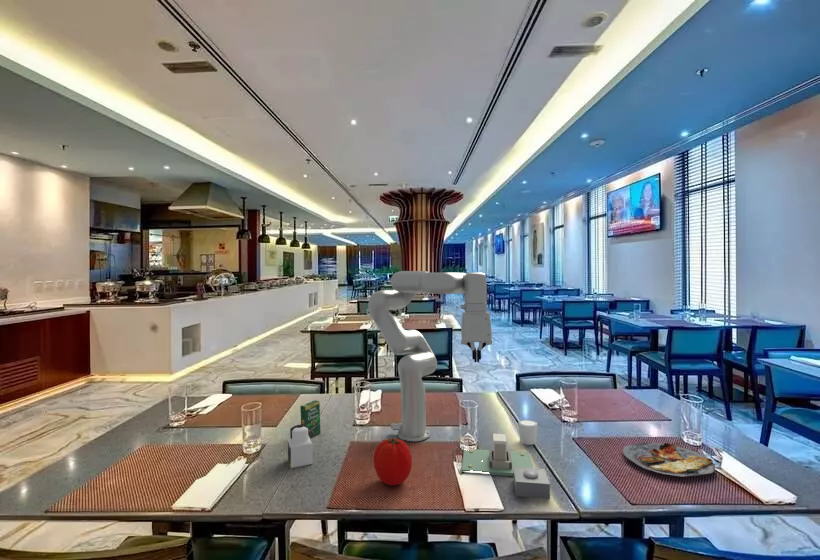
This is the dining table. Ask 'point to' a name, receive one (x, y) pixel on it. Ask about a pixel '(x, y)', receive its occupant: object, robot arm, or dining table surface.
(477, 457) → the board
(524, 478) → the grey push button box
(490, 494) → the dining table surface
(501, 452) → the plug
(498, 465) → the socket
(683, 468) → the food plate
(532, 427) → the gray cup
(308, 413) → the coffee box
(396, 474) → the tomato
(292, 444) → the medicine bottle
